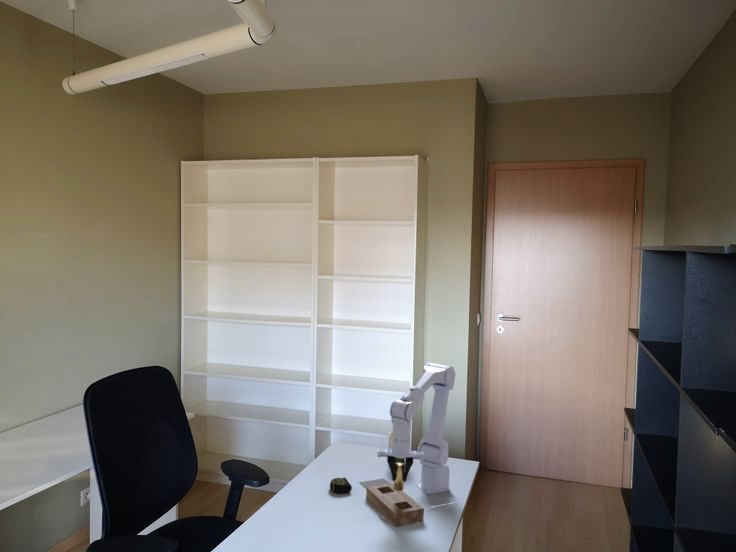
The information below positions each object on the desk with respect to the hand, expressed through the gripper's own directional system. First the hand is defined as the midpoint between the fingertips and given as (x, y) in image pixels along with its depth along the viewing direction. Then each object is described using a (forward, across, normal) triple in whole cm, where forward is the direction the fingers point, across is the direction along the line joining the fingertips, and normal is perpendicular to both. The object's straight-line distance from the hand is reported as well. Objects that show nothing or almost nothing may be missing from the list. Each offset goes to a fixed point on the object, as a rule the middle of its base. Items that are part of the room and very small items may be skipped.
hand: (399, 479), depth 185 cm
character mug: (+11, -1, +36) cm, 38 cm away
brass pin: (+3, 0, 0) cm, 3 cm away
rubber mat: (+10, -7, +18) cm, 22 cm away
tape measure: (+11, -20, +13) cm, 26 cm away
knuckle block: (+10, -1, +1) cm, 11 cm away
